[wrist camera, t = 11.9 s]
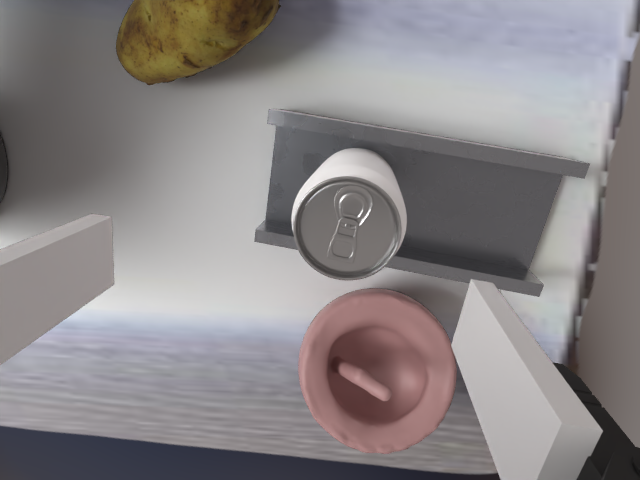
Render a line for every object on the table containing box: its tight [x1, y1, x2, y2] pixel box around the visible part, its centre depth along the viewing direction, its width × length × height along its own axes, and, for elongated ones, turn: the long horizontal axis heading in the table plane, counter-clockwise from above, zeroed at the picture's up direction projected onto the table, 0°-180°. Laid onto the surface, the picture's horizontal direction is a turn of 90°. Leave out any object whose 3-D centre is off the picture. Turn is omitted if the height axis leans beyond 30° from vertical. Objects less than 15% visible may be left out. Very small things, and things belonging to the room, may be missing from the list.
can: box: [291, 148, 407, 280], centre depth 26 cm, size 6×6×12 cm
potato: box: [116, 0, 281, 85], centre depth 26 cm, size 8×13×8 cm, turn 94°
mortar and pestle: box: [298, 288, 457, 454], centre depth 31 cm, size 12×12×11 cm
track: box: [254, 109, 590, 297], centre depth 30 cm, size 22×10×4 cm, turn 81°
